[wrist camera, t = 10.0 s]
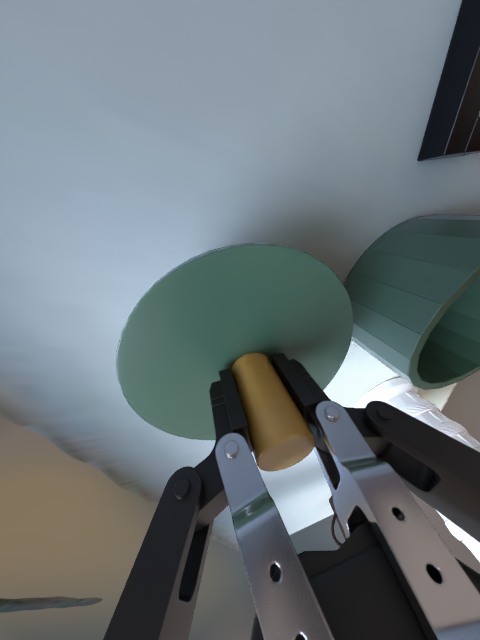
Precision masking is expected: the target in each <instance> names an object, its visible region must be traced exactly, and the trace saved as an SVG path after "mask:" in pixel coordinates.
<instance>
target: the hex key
mask: <svg viewBox="0 0 480 640" xmlns="http://www.w3.org/2000/svg"><path fill="white" fill-rule="evenodd" d="M479 112H480V0H462V4H461V8H460V11H459V15H458V18H457V22H456V25H455V29H454V32H453V36H452V40H451V43H450V47H449V50H448V54H447V57H446V61H445V64H444V68H443V71H442V75H441V79H440V82H439V86H438V89H437V93H436V96H435V100H434V103H433V107H432V110H431V114H430V118H429V121H428V125H427V128H426V132H425V135H424V139H423V142H422V146H421V150H420V153H419V157H418V161H424V160H432V159H439V158H447V157H455V156H462V155H468V154H473V153H478V152H480V117H478V114H479Z"/></svg>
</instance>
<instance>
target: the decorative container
mask: <svg viewBox="0 0 480 640" xmlns="http://www.w3.org/2000/svg"><path fill="white" fill-rule="evenodd" d="M371 401H382V402H386V403H388V404H390V405H392V406H394V407H396V408H397V409H399V410H401V411H403V412H405V413H407V414H409V415H411V416H412V417H414V418H416V419H418V420H420V421H422V422H424V423H426V424H428V425H429V426H431V427H433V428H435V429H437V430H439V431H441V432H443V433H444V434H446V435H448V436H450V437H452V438H454V439H456V440H458V441H460V442H461V443H463V444H465V445H467V446H469V447H471V448H473V449H475V450H476V451H478V452H480V443H479V442H478V441H477V440H475V439H474V438H473V437H471V436H470V435H469V434H468V432H467V431H466V429H465V428H464V427H463V426H462V425H460V424H458V423H456V422H455V421H451V420H450V419H448V418H447V417H446V416H444V415H443V414H441V412H440V410H439V409H438V408H437V407H436V406H435V405H434V404H433V403H431V402H429V401H426V400H424V399H423V398H421V397H420V396H419V395H418V388H417V387H414V386H412V385H411V384H410V383H408V382H407V381H406V380H404V379H403V378H402V377H399V378H394V379H391V380H387V381H385V382H383V383H381V384H379V385H378V386H376V387H375V388H373V389H372V390H370V391H369V392H368V393H367V394H365V395H364V396H363V397H362V398H361V399H360V400H359V402H358V403H357V404H356V405H355V407H354V408H365V407H366V405H367V404H368V403H369V402H371ZM436 511H437V510H436ZM437 512H438V511H437ZM438 513H439V512H438ZM439 514H440V515H441V517H442V518H443V519H444V521H445V522H446V523H445V524H446V526H447V527H448V529H449V531H450V532H451V533H452V534H453V535H454V536H455V537H456V538H457V539H458V540H459V541H460V540H462V539H463V541H462V542H463V543H464V544H465V545H466V546H467V547H468V548H469V550H470V551H471V552H472V553H473V554H474V555H475V557H476V558H477V559H478V560H479V561H480V543H479V542H478V541H477V540H475V539H474V538H473V537H471V536H470V535H469V534H467V533H466V532H465V531H463V530H462V529H461V528H459V527H458V526H457V525H455V524H454V523H453V522H451V521H450V520H449V519H447V518H446V517H445V516H443V515H442V514H441V513H439Z"/></svg>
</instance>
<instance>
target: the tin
mask: <svg viewBox="0 0 480 640" xmlns="http://www.w3.org/2000/svg"><path fill="white" fill-rule="evenodd" d="M344 287H345V289H346V291H347V293H348V295H349V298H350V302H351V305H352V312H353V331H352V338H351V340H353V341H354V342H355V343H357V344H358V345H359V346H361V347H362V348H363V349H365V350H366V351H367V352H369V353H370V354H371V355H373V356H374V357H375V358H377V359H378V360H379V361H381V362H382V363H383V364H385V365H386V366H387V367H389V368H390V369H391V370H392V371H394V372H395V373H396V374H398V375H399V376H400V377H402V378H403V379H404V380H406V381H407V382H408V383H410V384H411V385H412V386H414V387H417V388H420V389H423V390H429V389H437V388H442V387H444V386H447V385H450V384H453V383H455V382H458V381H460V380H462V379H464V378H466V377H468V376H469V375H471V374H473V373H475V372H477V371H479V370H480V216H474V215H432V216H421V217H416V218H412V219H409V220H407V221H404V222H402V223H400V224H398V225H397V226H395V227H393V228H391V229H390V230H389V231H387V232H386V233H384V234H383V235H382V236H381V237H380V238H378V239H377V240H376V241H375V242H374V243H373V244H372V245H371V246H370V247H369V248H368V249H367V250H366V251H365V253H364V254H363V255H362V256H361V258H360V259H359V260H358V262H357V263H356V265H355V266H354V268H353V269H352V271H351V273H350V275H349V276H348V278H347V280H346V283H345V285H344Z"/></svg>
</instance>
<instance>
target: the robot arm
mask: <svg viewBox="0 0 480 640" xmlns="http://www.w3.org/2000/svg"><path fill="white" fill-rule="evenodd" d="M271 363H272V365H273V367H274V368H275V370H276V372H277V373H278V375H279V377H280V378H281V380H282V382H283V384H284V385H285V387H286V389H287V390H288V392H289V394H290V395H291V397H292V399H293V401H294V402H295V404H296V406H297V407H298V409H299V411H300V412H301V414H302V416H303V418H304V419H305V421H306V423H307V424H308V426H309V428H310V429H311V431H312V433H313V435H314V436H315V439H316V444H315V447H314V448H313V449H314V451H315V453H316V456H317V458H318V461H319V463H320V465H321V468H322V470H323V473H324V475H325V477H326V480H327V482H328V485H329V487H330V490H331V493H332V497H333V502H334V506H335V510H336V513H337V515H338V518H339V520H340V523H341V525H342V528H343V530H344V533H345V535H346V538H347V540H346V541H345V542H344V543H343V544H342V546H341V547H340V548H339V549H338V550H335V551H304V552H302V553H300V554H298V555H297V553H296V550H295V548H294V546H293V543H292V541H291V539H290V537H289V534H288V532H287V530H286V527H285V525H284V523H283V521H282V518H281V516H280V514H279V511H278V509H277V507H276V505H275V503H274V501H273V499H272V498H271V496H270V495H269V493H268V491H267V488H266V486H265V484H264V481H263V479H262V477H261V474H260V472H259V470H258V468H257V465H256V463H255V461H254V458H253V456H252V454H251V452H253V449H252V446H251V442H250V433H249V428H248V423H247V420H246V417H245V414H244V410H243V407H242V404H241V401H240V397H239V394H238V391H237V388H236V384H235V381H234V378H233V375H232V371H231V368H228V369H224V370H221V371H219V376H220V380H219V381H216V382H213V383H212V384H211V387H210V390H209V393H210V399H211V406H212V413H213V420H214V427H215V433H216V442H215V446H214V448H213V450H212V452H211V453H210V455H209V456H208V457H207V458H206V459H205V460H203V461H202V462H201V463H199V464H198V465H197V466H196V467H194V468H193V467H183V468H181V469H179V470H177V471H176V472H175V473H174V474H173V475H172V476H171V477H170V479H169V480H168V482H167V484H166V487H165V489H164V492H163V494H162V497H161V499H160V501H159V504H158V506H157V509H156V512H155V514H154V516H153V519H152V521H151V524H150V526H149V529H148V531H147V533H146V536H145V538H144V541H143V543H142V546H141V548H140V551H139V553H138V555H137V558H136V560H135V563H134V565H133V568H132V570H131V573H130V575H129V578H128V580H127V582H126V585H125V588H124V590H123V592H122V595H121V597H120V600H119V602H118V605H117V607H116V609H115V612H114V615H113V617H112V619H111V622H110V624H109V627H108V629H107V632H106V634H105V637H104V639H103V640H188V638H189V633H190V628H191V624H192V619H193V615H194V609H195V605H196V601H197V596H198V591H199V587H200V582H201V577H202V573H203V568H204V563H205V558H206V554H207V549H208V545H209V540H210V536H211V531H212V526H213V522H214V518H215V517H216V516H217V515H218V514H219V513H221V512H222V511H223V510H224V509H225V508H226V507H227V506H228V505H229V507H230V511H231V515H232V519H233V525H234V529H235V533H236V537H237V541H238V545H239V549H240V552H241V556H242V560H243V563H244V567H245V571H246V575H247V578H248V581H249V586H250V589H251V593H252V597H253V600H254V604H255V608H256V614H255V618H254V623H253V628H252V634H251V640H480V574H479V573H477V572H476V571H474V570H473V569H472V568H470V567H469V566H467V565H466V564H464V563H463V562H461V561H460V560H458V559H457V558H456V557H454V556H453V554H452V553H451V551H450V550H449V548H448V547H447V546H446V544H445V543H444V541H443V540H442V538H441V537H440V535H439V534H438V532H437V531H436V529H435V528H434V527H433V525H432V524H431V522H430V521H429V519H428V518H427V517H426V515H425V514H424V512H423V511H422V509H421V508H420V507H419V505H418V504H417V502H416V501H415V499H414V498H413V496H412V495H411V493H410V492H409V490H410V491H411V492H413V493H414V494H415V495H417V496H418V497H419V498H421V499H422V500H423V501H425V502H426V503H427V504H429V505H430V506H431V507H433V508H434V509H435V510H437V511H438V512H439V513H441V514H442V515H443V516H445V517H446V518H447V519H449V520H450V521H451V522H453V523H454V524H455V525H457V526H458V527H459V528H461V529H462V530H463V531H465V532H466V533H467V534H469V535H470V536H471V537H473V538H474V539H475V540H477V541H478V542H479V543H480V452H478V451H476V450H475V449H473V448H471V447H469V446H467V445H465V444H463V443H461V442H460V441H458V440H456V439H454V438H452V437H450V436H448V435H446V434H444V433H443V432H441V431H439V430H437V429H435V428H433V427H431V426H429V425H428V424H426V423H424V422H422V421H420V420H418V419H416V418H414V417H412V416H411V415H409V414H407V413H405V412H403V411H401V410H399V409H397V408H396V407H394V406H392V405H390V404H388V403H386V402H382V401H371V402H369V403H368V404H367V405H366V407H365V408H347V407H342V406H341V405H340V404H338V403H336V402H333V401H331V400H330V399H329V398H328V397H327V395H326V394H325V393H324V392H323V390H322V389H321V388H320V387H319V385H318V384H317V383H316V382H315V380H314V379H313V378H312V377H311V375H310V374H309V373H308V371H307V370H306V369H305V368H304V366H303V365H302V364H301V363H300V362H298V361H297V360H295V359H291V360H288V358H287V357H286V355H285V354H284V353H280V354H277V355H273V356H271ZM408 489H409V490H408Z"/></svg>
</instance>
